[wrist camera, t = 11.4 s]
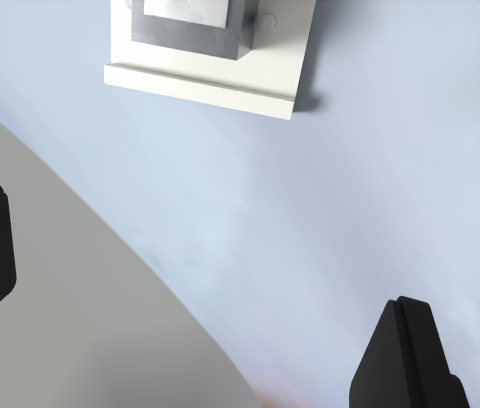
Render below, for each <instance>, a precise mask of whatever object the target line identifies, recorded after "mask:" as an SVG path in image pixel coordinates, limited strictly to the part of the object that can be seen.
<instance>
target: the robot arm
mask: <svg viewBox="0 0 480 408" xmlns="http://www.w3.org/2000/svg"><path fill="white" fill-rule="evenodd" d="M15 284H16V269H15V260H14V250H13V241H12V232H11V222H10V213H9V204H8V197H7V195H6V194H5V193H4V191H3V189H2V187H1V186H0V301H1V300H2V299H3V298H4V297H5V296H7V295H8V294H9V293H10V292H11V291H12V289H13V288H14V286H15ZM349 408H470V406H469V403H468V400H467V397H466V394H465V391H464V388H463V385H462V383H461V381H460V379H459V378H458V377H457V376H456V375H453V374H450V371H449V368H448V364H447V361H446V358H445V354H444V351H443V348H442V344H441V341H440V338H439V334H438V331H437V328H436V324H435V321H434V318H433V314H432V311H431V308H430V306H429V304H428V303H426V302H423V301H419V300H415V299H412V298H408V297H404V296H400V297H399V298H398V299H397V301H394V300H389V301H388V302H387V304H386V306H385V308H384V310H383V313H382V315H381V317H380V319H379V322H378V324H377V326H376V328H375V331H374V333H373V335H372V337H371V340H370V342H369V344H368V346H367V349H366V351H365V353H364V355H363V358H362V360H361V362H360V364H359V367H358V369H357V371H356V373H355V375H354V378H353V380H352V383H351V387H350V393H349Z"/></svg>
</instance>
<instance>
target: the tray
mask: <svg viewBox="0 0 480 408" xmlns="http://www.w3.org/2000/svg"><path fill="white" fill-rule="evenodd" d="M315 4H316V0H260V1H259V8H258V14H257V17H256V19H255V21H254V27H255V34H254V40H253V47H252V51H250V52H249V53H247V54H246V55H244V56H243V57H242V58H240V59H239V60H237V61H235V60H230V59H225V58H219V57H214V56H209V55H203V54H198V53H193V52H187V51H182V50H177V49H171V48H166V47H161V46H155V45H150V44H145V43H139V42H134V41H131V8H132V0H111V63H110V64H107V65H104V83H106V84H111V85H116V86H121V87H126V88H131V89H136V90H141V91H146V92H152V93H157V94H162V95H167V96H172V97H177V98H182V99H187V100H192V101H197V102H202V103H207V104H212V105H217V106H222V107H227V108H232V109H237V110H242V111H247V112H252V113H257V114H262V115H267V116H272V117H277V118H282V119H287V120H290V119H291V116H292V112H293V108H294V103H295V98H296V94H297V89H298V84H299V79H300V75H301V70H302V65H303V60H304V56H305V51H306V46H307V42H308V37H309V32H310V27H311V23H312V18H313V13H314V8H315Z"/></svg>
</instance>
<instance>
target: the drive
mask: <svg viewBox="0 0 480 408" xmlns="http://www.w3.org/2000/svg"><path fill="white" fill-rule="evenodd" d="M259 1H260V0H132V8H131V41H134V42H139V43H145V44H150V45H155V46H161V47H166V48H171V49H177V50H182V51H187V52H193V53H198V54H203V55H209V56H214V57H219V58H225V59H230V60H235V61H237V60H239V59H240V58H242V57H243V56H244V55H246V54H247V53H249V52H250V51H252V47H253V40H254V34H255V27H254V21H255V19H256V17H257V14H258V8H259Z"/></svg>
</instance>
